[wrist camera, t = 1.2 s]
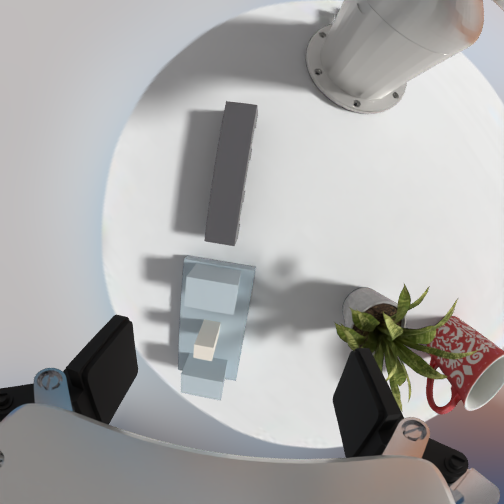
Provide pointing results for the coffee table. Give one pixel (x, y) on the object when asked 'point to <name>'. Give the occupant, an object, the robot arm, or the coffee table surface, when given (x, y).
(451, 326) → the mug
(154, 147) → the coffee table surface
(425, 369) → the house plant
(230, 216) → the dark grey bar
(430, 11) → the robot arm
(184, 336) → the display stand
